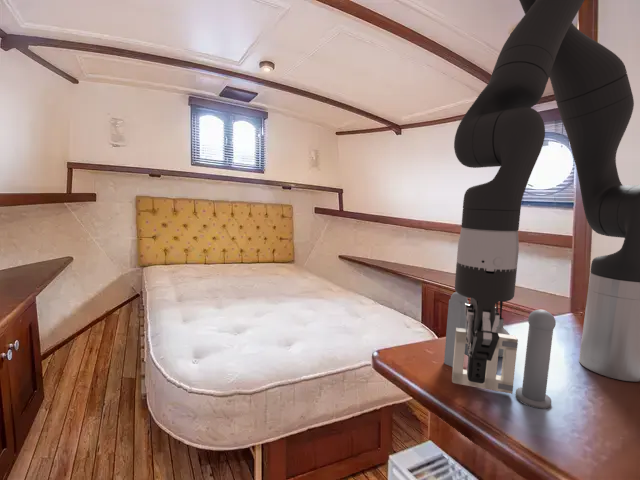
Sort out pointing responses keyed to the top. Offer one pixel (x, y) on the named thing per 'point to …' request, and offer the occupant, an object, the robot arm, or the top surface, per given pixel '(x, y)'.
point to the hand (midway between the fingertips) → (475, 379)
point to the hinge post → (537, 360)
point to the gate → (487, 364)
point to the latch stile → (454, 325)
